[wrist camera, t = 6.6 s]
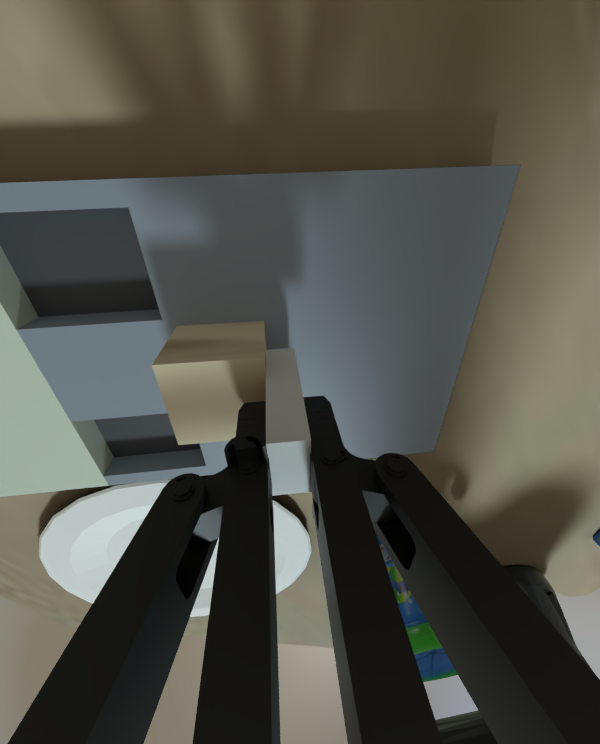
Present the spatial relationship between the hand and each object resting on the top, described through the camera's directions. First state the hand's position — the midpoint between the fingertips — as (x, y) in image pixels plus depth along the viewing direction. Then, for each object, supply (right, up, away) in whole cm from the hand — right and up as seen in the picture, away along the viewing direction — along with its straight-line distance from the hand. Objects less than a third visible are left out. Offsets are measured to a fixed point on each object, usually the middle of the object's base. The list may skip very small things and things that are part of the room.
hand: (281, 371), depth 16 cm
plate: (-10, -18, +15) cm, 25 cm away
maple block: (-3, +1, +1) cm, 3 cm away
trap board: (-6, +1, +2) cm, 7 cm away
